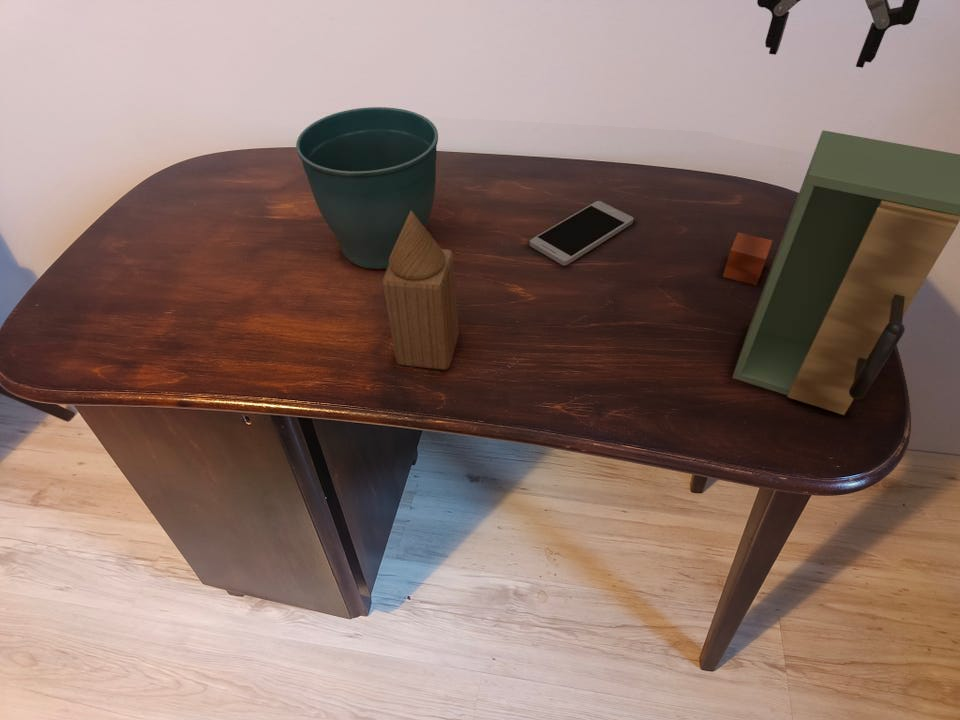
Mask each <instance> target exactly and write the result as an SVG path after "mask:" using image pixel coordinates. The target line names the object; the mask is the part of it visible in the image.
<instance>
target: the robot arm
mask: <svg viewBox="0 0 960 720" xmlns="http://www.w3.org/2000/svg"><path fill="white" fill-rule="evenodd" d="M800 1H801V0H757V1H756V2H757V6H758V7H759V8H763V9H764V8H765V9H766V10H768V11H769V12H770V13H771V20H770V24H769V27H768V30H767V34H766V38H765V41H764V42H765V48H768V49H769V52H768V54H769V55H773V56H774V55H775V56H776V55H777V53H778V51H779V49H780V46H781V42H782V39H783V35H784V32H785V29H786V27H787V26H786V25H787V22H788V19H789V15H790V10H791V9H792V8H793V7H794V6H796V5H797V4H798V3H799V2H800ZM864 1H865V3H866V6H867V9H868V10H869V12H870V15H871V18H872V20H873V21H872V22H871V24H870V26H869V29H868V32H867V35H866V37H865V39H864V42H863V45H862V47H861V50H860V52H859V56H858V58H857V59H856V60H857V61H856V64H855V67H856V68H860V69H861V68H862V69H864V66H865V64H866V63H872V61H874V59H875V58H876V56H877V53H878V51H879V49H880V46H881V43H882V41H883V39H884V36H885V34H886V31H888V29H890V28H891V27H894V26H898V25H899V26H900V25H901V26H907V25H909V24H911V23H912V22H913V20H914V18H915V15H916V13H917V10H918V6H919V4H920V0H903V1H902V4H901V6H898V7H893V8H891V6H890V3H889V0H864Z"/></svg>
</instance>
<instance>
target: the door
mask: <svg viewBox="0 0 960 720" xmlns="http://www.w3.org/2000/svg"><path fill="white" fill-rule="evenodd" d="M956 228H957V226H956V224H955V223H950V222H945V221H941V220H936V219H931V218H926V217H922V216H917V215H912V214H907V213H903V212H898V211H893V210H888V209H884V208H879V207H877V209H876V211H875V213H874V215H873V217H872V219H871V221H870V223H869V225H868V227H867V230H866V232H865V234H864V236H863V238H862V240H861V242H860V244H859V246H858V248H857V250H856V253H855V255H854V257H853V259H852V261H851V263H850V265H849V267H848V269H847V271H846V273H845V275H844V278H843V280H842V282H841V284H840V286H839V288H838V290H837V292H836V294H835V296H834V298H833V301H832V303H831V305H830V307H829V309H828V311H827V313H826V315H825V317H824V319H823V321H822V323H821V326H820V328H819V330H818V332H817V334H816V336H815V338H814V340H813V342H812V344H811V346H810V349H809V351H808V353H807V355H806V357H805V359H804V361H803V363H802V365H801V367H800V369H799V371H798V374H797V376H796V378H795V380H794V382H793V384H792V386H791V388H790V390H789V392H788V395H786V397H787V398H789V399H792V400H795V401H798V402H801V403H804V404H808V405H810V406H814V407H817V408H820V409H823V410H827V411H830V412H832V413H836V414H839V415H842V416H845V414H846V413H847V412H848V410H849V408H850V407H851V405H852V403H853V401H854V400H862V399H864V398H865V396H866V395H867V394H868V392H869V391H870V389H871V387H872V385H873V384H874V383H875V381H876V379H877V378H878V376H879V375H880V372H881V371H882V369H883V367H884V366H885V365H886V362H887V361H888V359H889V358H890V356H891V354H892V353H893V351H894V350H895V347H896V346H897V345H898V343H899V342H900V340H901V338H902V337H903V335H904V333H905V332H906V330H905V329H906V328H905V325H904V324H903V317H904V316H905V314H906V312H907V311H908V309H909V307H910V305H911V304H912V302H913V300H914V299H915V298H916V295H917V294H918V293H919V291H920V289H921V287H922V286H923V284H924V282H925V281H926V279H927V277H928V276H929V274H930V272H931V271H932V269H933V267H934V265H935V264H936V262H937V260H938V259H939V257H940V255H942V252H943V250H944V249H945V248H946V245H947V244H948V242H949V241H950V239H951V237H952V235H953V234H954V232H955V231H956Z"/></svg>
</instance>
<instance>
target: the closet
mask: <svg viewBox="0 0 960 720" xmlns="http://www.w3.org/2000/svg"><path fill="white" fill-rule="evenodd" d="M796 197H797V198H796V200H795V203H794V206H793V207H792V210H791V214H790V216H789V218H788V220H787V221H788V222H787V224H786V227H785V230H784V233H783V235H782V237H781V241H780V244H779V246H778V249H777V251H776V253H775V257H774V259H773V262H772V265H771V267H770V270H769V272H768V275H767V278H766V280H765V284H764V286H763V289H762V292H761V295H760V297H759V300H758V303H757V306H756V308H755V310H754V313H753V316H752V318H751V320H750V324H749V327H748V330H747V332H746V335H745V338H744V341H743V344H742V347H741V350H740V353H739V356H738V359H737V362H736V364H735V367H734V371H733V374H732V377H731V378H732V379H733V380H738V381H741V382H744V383H747V384H750V385H754V386H756V387H759V388H763V389H766V390H770V391H773V392H774V393H775V392H776V393H777V394H780V395H785V396H787V395H788V392H789V390H790V388H791V386H792V384H793V382H794V380H795V378H796V376H797V374H798V371H799V369H800V367H801V365H802V363H803V361H804V359H805V357H806V355H807V353H808V351H809V349H810V346H811V344H812V342H813V340H814V338H815V336H816V334H817V332H818V330H819V328H820V326H821V323H822V321H823V319H824V317H825V315H826V313H827V311H828V309H829V307H830V305H831V303H832V301H833V298H834V296H835V294H836V292H837V290H838V288H839V286H840V284H841V282H842V280H843V278H844V275H845V273H846V271H847V269H848V267H849V265H850V263H851V261H852V259H853V257H854V255H855V253H856V250H857V248H858V246H859V244H860V242H861V240H862V238H863V236H864V234H865V232H866V230H867V227H868V225H869V223H870V221H871V219H872V217H873V215H874V213H875V211H876V209H877V207H879V208H884V209H888V210H893V211H898V212H903V213H907V214H912V215H917V216H922V217H926V218H931V219H936V220H941V221H945V222H950V223H955V224H956V227H957V226H958V225H959V223H960V154H959V153H953V152H948V151H944V150H943V151H942V150H936V149H931V148H924V147H919V146H914V145H909V144H902V143H897V142H891V141H885V140H880V139H874V138H869V137H863V136H858V135H853V134H852V135H851V134H846V133H841V132H835V131H831V130H830V131H829V130H824V129H823V130H822V131H821V132H820V136H819V138H818V141H817V144H816V147H815V149H814V152H813V154H812V157H811V160H810V163H809V166H808V167H807V170H806V173H805V175H804V179H803V181H802V184H801V187H800V189H799V192H798V195H797V196H796Z"/></svg>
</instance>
